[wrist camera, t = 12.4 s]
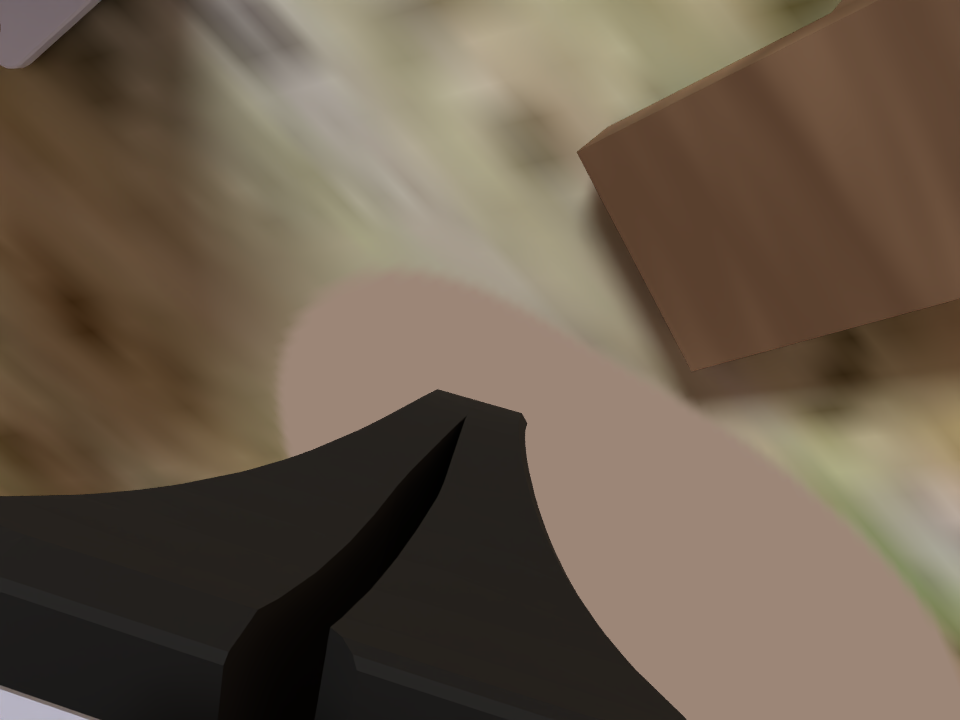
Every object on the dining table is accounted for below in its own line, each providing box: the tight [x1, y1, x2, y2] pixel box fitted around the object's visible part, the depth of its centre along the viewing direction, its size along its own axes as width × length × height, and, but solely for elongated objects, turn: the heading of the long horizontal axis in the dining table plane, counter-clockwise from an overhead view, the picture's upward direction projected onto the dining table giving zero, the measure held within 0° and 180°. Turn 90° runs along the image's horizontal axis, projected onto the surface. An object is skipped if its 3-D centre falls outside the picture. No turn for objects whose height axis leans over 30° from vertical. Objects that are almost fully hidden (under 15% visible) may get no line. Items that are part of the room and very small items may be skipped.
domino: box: [577, 0, 960, 371], centre depth 15 cm, size 2×5×8 cm
